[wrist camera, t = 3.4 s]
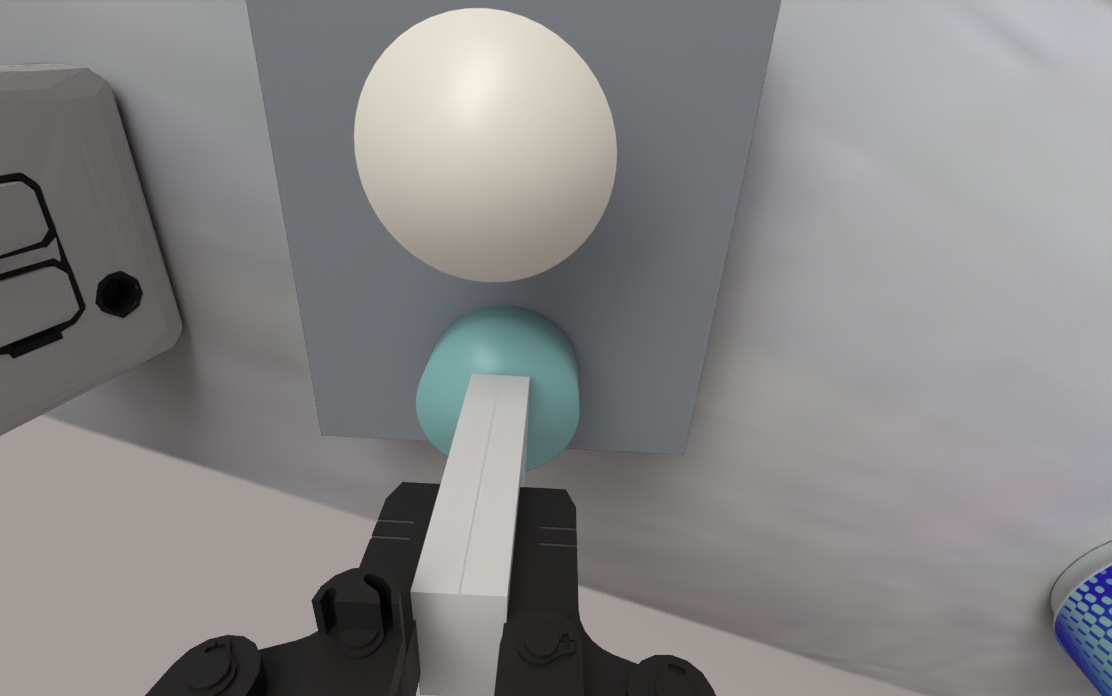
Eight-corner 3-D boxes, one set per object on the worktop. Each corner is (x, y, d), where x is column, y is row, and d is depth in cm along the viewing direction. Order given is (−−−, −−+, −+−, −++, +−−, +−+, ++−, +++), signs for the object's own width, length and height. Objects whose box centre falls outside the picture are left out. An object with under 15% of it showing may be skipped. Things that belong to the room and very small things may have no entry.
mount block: (310, -24, 16) (238, -42, 12) (734, 6, 16) (782, -4, 13) (359, 372, 22) (321, 435, 19) (664, 389, 22) (684, 454, 19)
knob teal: (449, 259, 19) (410, 333, 14) (580, 267, 19) (586, 344, 14) (453, 371, 21) (420, 469, 16) (570, 378, 21) (573, 478, 16)
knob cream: (420, 13, 13) (338, -3, 8) (606, 26, 13) (632, 18, 8) (429, 201, 15) (368, 275, 10) (590, 211, 15) (602, 288, 11)
